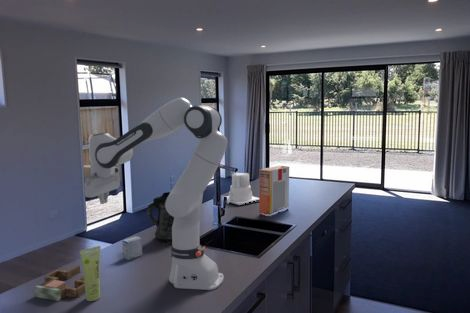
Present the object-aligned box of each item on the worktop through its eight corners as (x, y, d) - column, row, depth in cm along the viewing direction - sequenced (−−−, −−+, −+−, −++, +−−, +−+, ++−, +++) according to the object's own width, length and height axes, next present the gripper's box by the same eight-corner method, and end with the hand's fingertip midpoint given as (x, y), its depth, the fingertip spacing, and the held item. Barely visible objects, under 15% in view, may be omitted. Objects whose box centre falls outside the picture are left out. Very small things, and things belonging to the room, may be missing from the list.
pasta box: (278, 207, 273) (279, 165, 269) (288, 209, 267) (289, 166, 264) (259, 214, 255) (259, 169, 251) (269, 217, 250) (270, 171, 246)
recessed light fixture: (243, 196, 308) (243, 170, 305) (262, 201, 291) (262, 173, 288) (218, 201, 292) (218, 173, 289) (237, 207, 275) (237, 177, 272)
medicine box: (136, 253, 188) (136, 235, 187) (142, 255, 185) (142, 237, 184) (122, 258, 182) (122, 240, 181) (128, 260, 179) (127, 242, 178)
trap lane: (108, 276, 162) (108, 267, 162) (69, 303, 140) (69, 292, 140) (68, 270, 168) (67, 261, 168) (24, 294, 146) (23, 284, 146)
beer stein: (192, 237, 211) (191, 192, 208) (167, 247, 195) (166, 199, 192) (170, 231, 220) (169, 188, 217) (144, 241, 204) (142, 195, 201)
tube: (95, 303, 140) (92, 251, 138) (82, 301, 141) (79, 250, 138) (102, 295, 146) (100, 245, 143) (90, 294, 146) (87, 244, 144)
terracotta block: (66, 291, 149) (65, 281, 149) (56, 297, 144) (55, 287, 144) (55, 289, 151) (54, 280, 150) (45, 295, 146) (44, 285, 145)
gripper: (92, 175, 154) (95, 209, 156) (121, 167, 173) (123, 198, 175) (79, 175, 156) (81, 208, 157) (109, 167, 175) (111, 197, 177)
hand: (103, 203), depth 166 cm, fingers closed
